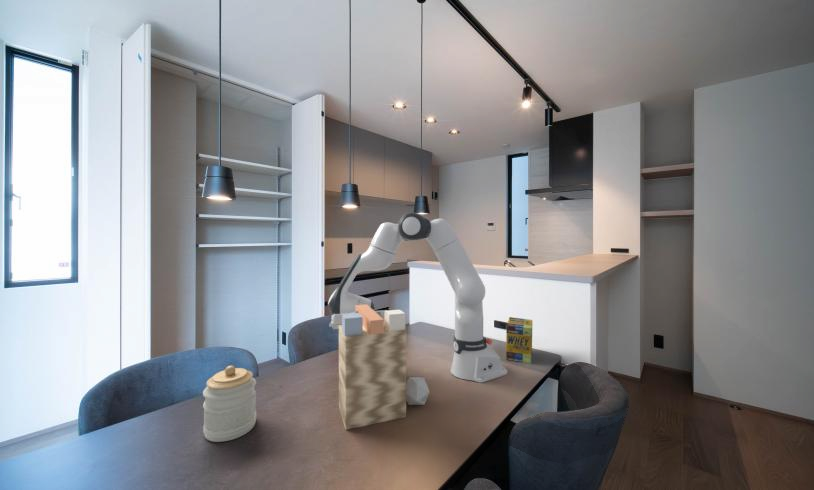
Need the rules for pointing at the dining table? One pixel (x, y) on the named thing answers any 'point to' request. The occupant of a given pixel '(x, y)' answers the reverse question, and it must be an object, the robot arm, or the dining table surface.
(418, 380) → the die
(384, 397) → the oak stand
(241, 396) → the jar
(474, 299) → the robot arm
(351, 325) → the cube slate
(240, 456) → the dining table surface
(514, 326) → the protein box
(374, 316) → the bar terracotta
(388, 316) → the cube cream
